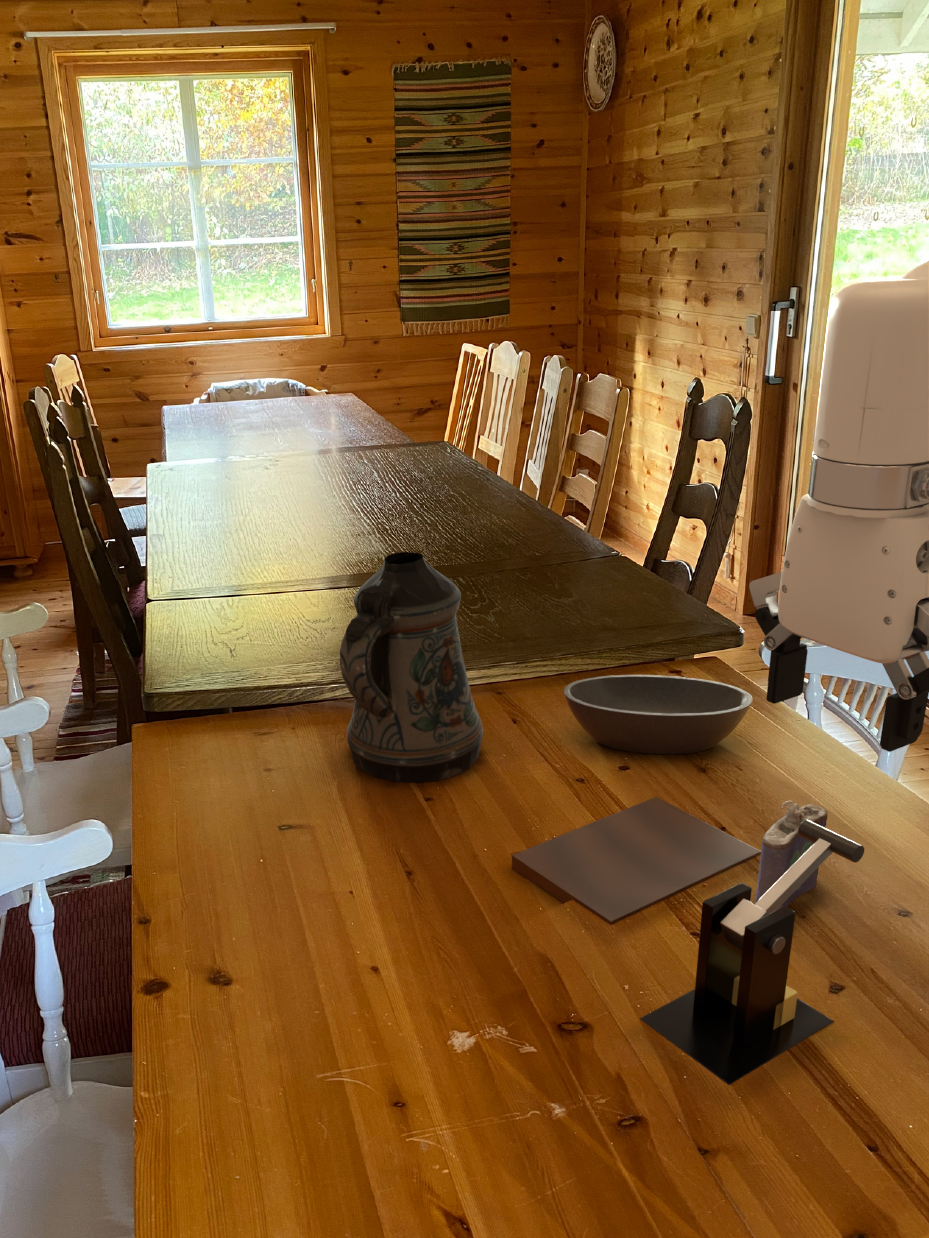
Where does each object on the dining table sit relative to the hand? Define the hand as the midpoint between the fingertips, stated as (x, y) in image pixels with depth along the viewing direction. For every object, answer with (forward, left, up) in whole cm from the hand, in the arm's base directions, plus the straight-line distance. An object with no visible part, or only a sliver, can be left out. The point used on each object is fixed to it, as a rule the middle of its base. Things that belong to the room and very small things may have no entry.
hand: (838, 720), depth 79 cm
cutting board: (-5, -23, -26) cm, 35 cm away
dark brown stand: (+6, -1, -26) cm, 27 cm away
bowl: (-27, -42, -26) cm, 57 cm away
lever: (+1, -1, -15) cm, 15 cm away
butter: (+3, -1, -25) cm, 25 cm away
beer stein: (-1, -56, -26) cm, 62 cm away
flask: (-11, -10, -26) cm, 30 cm away
